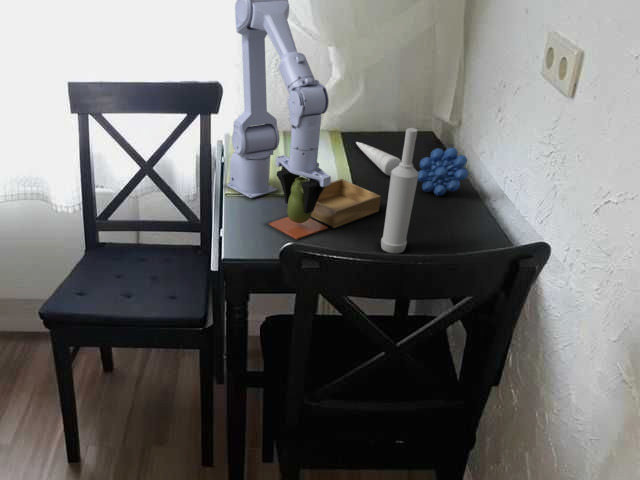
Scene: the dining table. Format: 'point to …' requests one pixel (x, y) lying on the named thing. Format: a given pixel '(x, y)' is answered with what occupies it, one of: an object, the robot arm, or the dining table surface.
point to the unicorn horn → (380, 158)
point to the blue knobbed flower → (442, 171)
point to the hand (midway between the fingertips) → (299, 207)
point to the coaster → (298, 227)
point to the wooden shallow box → (344, 203)
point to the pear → (297, 202)
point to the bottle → (400, 198)
